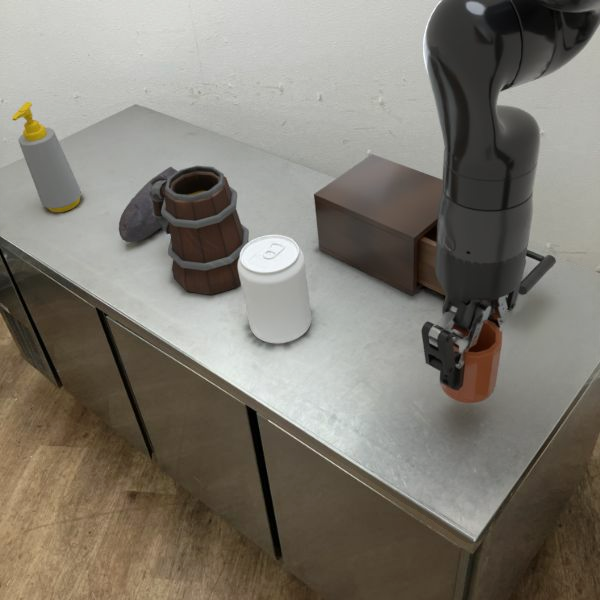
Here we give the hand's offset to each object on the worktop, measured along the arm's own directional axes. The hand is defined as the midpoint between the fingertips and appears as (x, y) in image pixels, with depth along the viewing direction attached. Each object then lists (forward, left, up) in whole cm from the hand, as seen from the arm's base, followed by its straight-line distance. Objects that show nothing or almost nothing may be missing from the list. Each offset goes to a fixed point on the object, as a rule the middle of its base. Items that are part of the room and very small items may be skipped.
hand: (468, 365), depth 66 cm
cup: (0, 0, -3) cm, 3 cm away
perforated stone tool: (+58, -2, -9) cm, 59 cm away
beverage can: (+26, +2, -9) cm, 28 cm away
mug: (+44, 0, -9) cm, 45 cm away
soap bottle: (+77, +4, -9) cm, 78 cm away
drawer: (+12, -19, -7) cm, 24 cm away
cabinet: (+24, -19, -8) cm, 32 cm away
